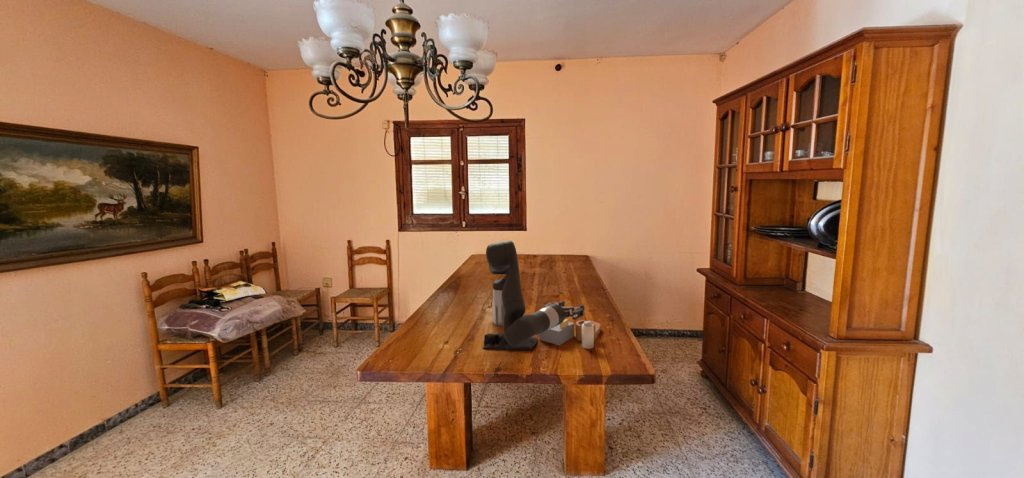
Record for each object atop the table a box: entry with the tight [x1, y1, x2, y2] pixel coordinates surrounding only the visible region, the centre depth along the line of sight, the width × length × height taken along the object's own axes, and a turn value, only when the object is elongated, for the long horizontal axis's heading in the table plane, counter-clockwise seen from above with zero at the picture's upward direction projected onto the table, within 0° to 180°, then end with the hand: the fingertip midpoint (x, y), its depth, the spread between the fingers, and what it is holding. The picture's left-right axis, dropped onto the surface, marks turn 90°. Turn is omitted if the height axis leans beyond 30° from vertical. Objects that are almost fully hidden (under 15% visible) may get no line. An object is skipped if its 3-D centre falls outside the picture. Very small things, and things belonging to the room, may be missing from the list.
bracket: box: [575, 319, 602, 343], centre depth 174 cm, size 18×8×7 cm, turn 155°
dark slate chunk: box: [482, 333, 538, 351], centre depth 166 cm, size 15×22×5 cm
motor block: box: [538, 318, 575, 346], centre depth 172 cm, size 15×10×8 cm, turn 140°
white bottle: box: [581, 320, 595, 349], centre depth 161 cm, size 5×5×10 cm
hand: (573, 305), depth 150 cm, fingers open, 8 cm apart
